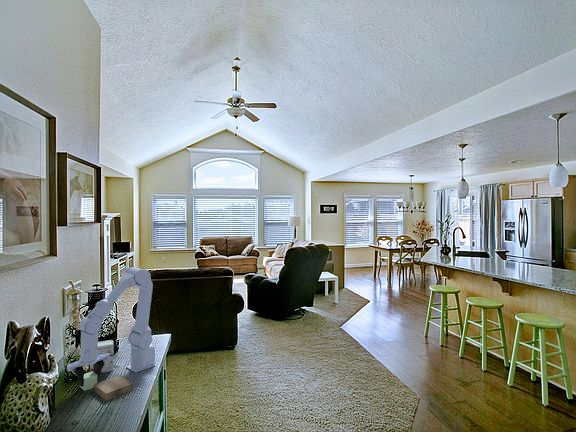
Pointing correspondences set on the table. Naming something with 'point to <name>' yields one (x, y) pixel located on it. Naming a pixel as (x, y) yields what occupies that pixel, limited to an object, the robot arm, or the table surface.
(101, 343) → the ink box
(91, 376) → the sage cube
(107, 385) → the walnut block
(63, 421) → the table surface
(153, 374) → the table surface
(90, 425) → the table surface
